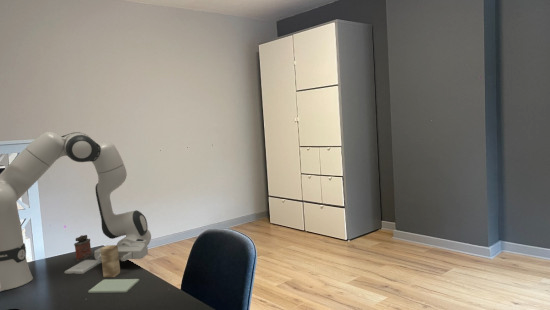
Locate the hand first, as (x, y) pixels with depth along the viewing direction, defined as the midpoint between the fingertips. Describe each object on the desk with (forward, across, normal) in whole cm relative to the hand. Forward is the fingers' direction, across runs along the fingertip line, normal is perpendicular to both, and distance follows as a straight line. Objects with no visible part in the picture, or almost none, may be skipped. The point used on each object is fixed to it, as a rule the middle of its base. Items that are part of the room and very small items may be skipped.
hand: (110, 259), depth 160 cm
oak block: (+1, 0, +6) cm, 6 cm away
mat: (+12, +7, +6) cm, 15 cm away
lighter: (-20, -24, +6) cm, 31 cm away
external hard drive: (-8, -17, +7) cm, 20 cm away
